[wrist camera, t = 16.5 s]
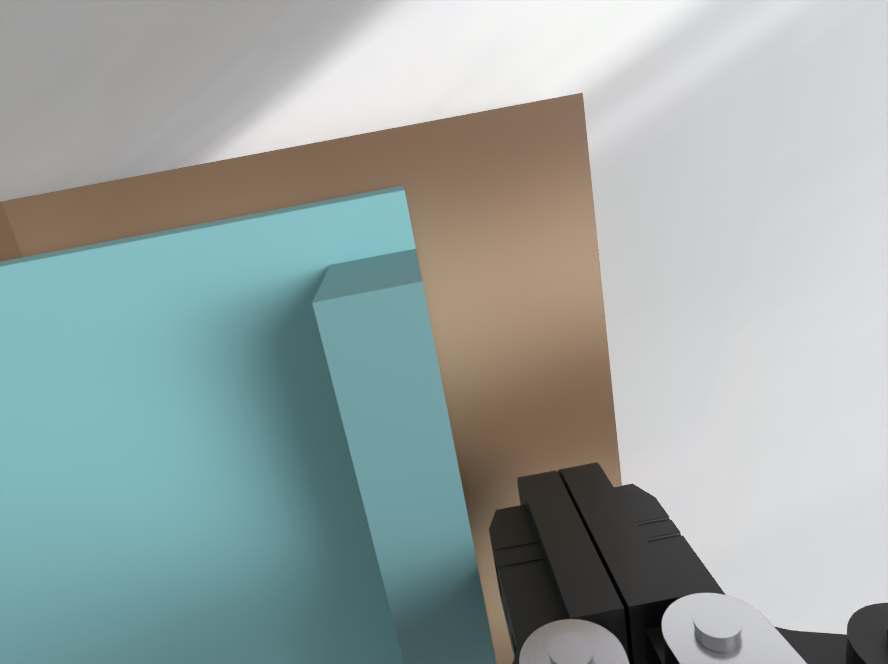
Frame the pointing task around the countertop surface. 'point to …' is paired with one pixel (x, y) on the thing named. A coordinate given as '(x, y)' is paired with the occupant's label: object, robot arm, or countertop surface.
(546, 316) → the wooden frame
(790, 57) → the countertop surface
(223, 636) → the sliding cover
